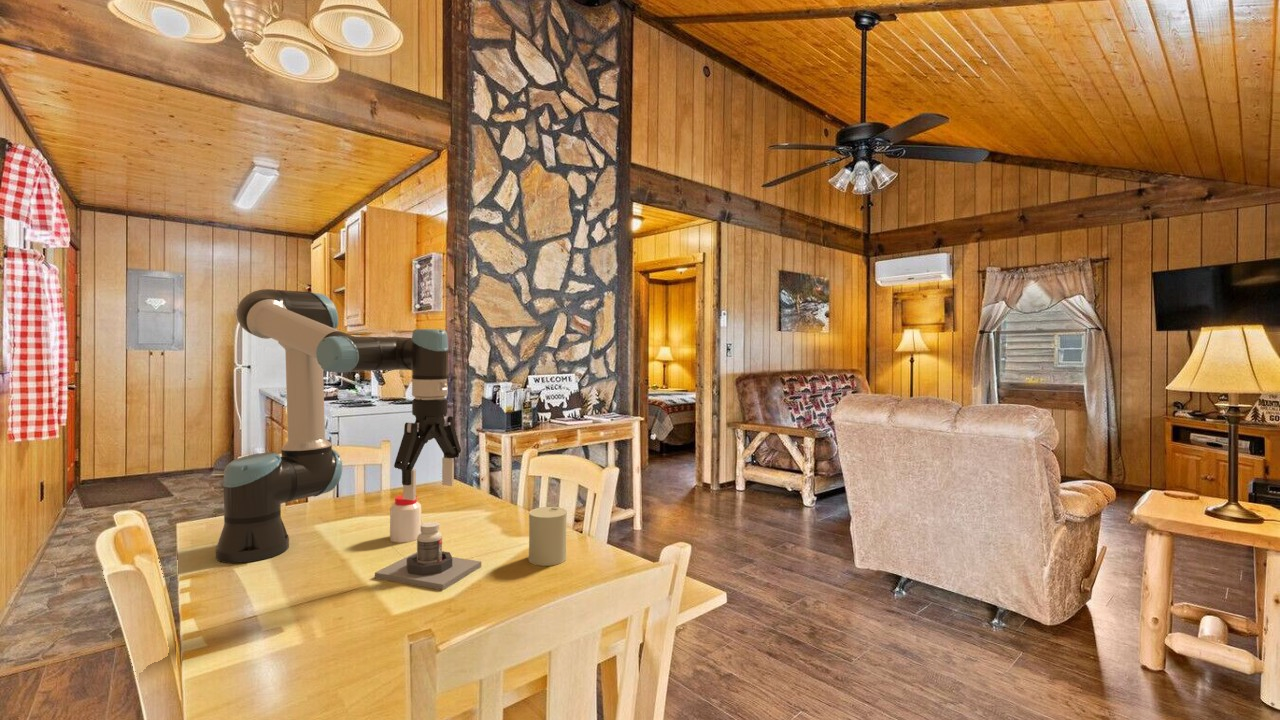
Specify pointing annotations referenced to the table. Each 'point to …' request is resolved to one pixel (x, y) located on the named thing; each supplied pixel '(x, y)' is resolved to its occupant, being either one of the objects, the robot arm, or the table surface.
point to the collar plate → (429, 579)
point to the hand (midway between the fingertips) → (429, 492)
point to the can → (547, 536)
